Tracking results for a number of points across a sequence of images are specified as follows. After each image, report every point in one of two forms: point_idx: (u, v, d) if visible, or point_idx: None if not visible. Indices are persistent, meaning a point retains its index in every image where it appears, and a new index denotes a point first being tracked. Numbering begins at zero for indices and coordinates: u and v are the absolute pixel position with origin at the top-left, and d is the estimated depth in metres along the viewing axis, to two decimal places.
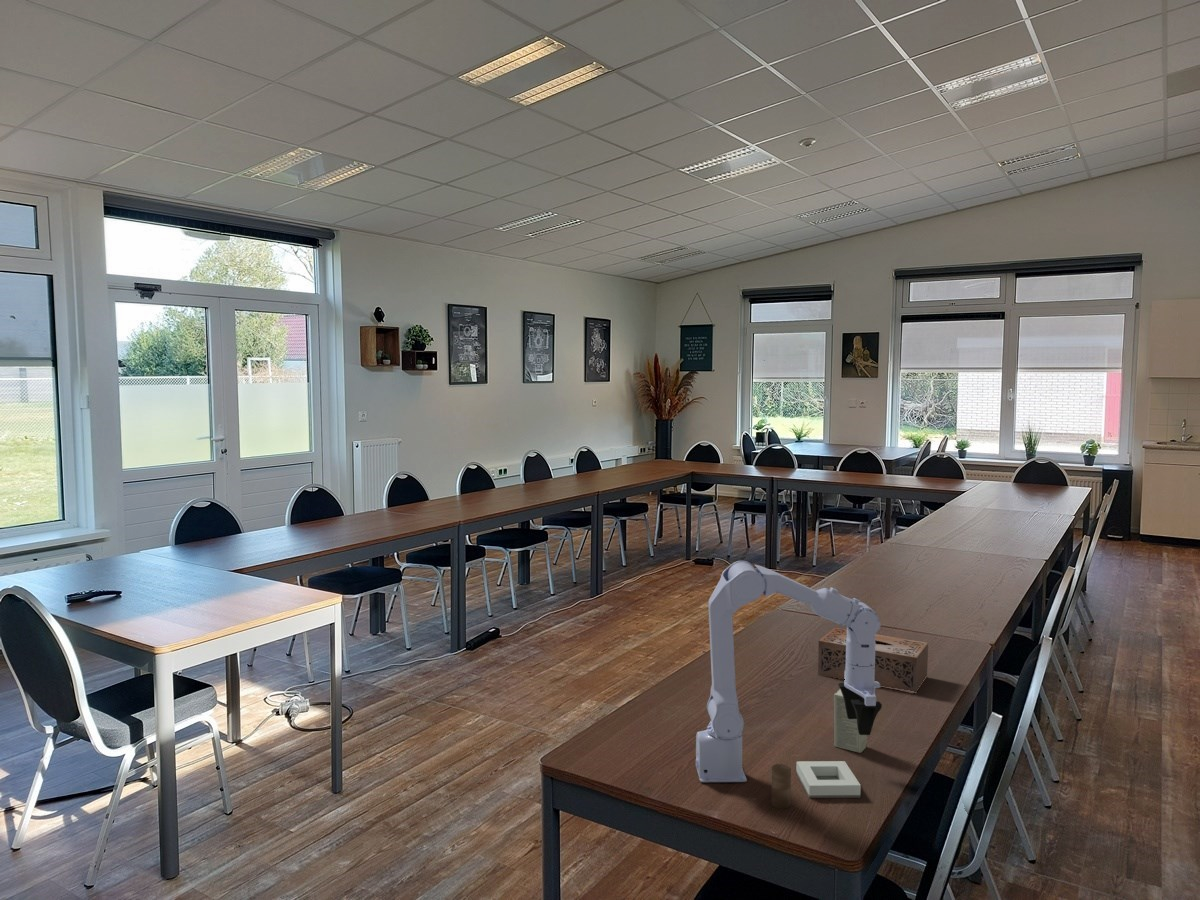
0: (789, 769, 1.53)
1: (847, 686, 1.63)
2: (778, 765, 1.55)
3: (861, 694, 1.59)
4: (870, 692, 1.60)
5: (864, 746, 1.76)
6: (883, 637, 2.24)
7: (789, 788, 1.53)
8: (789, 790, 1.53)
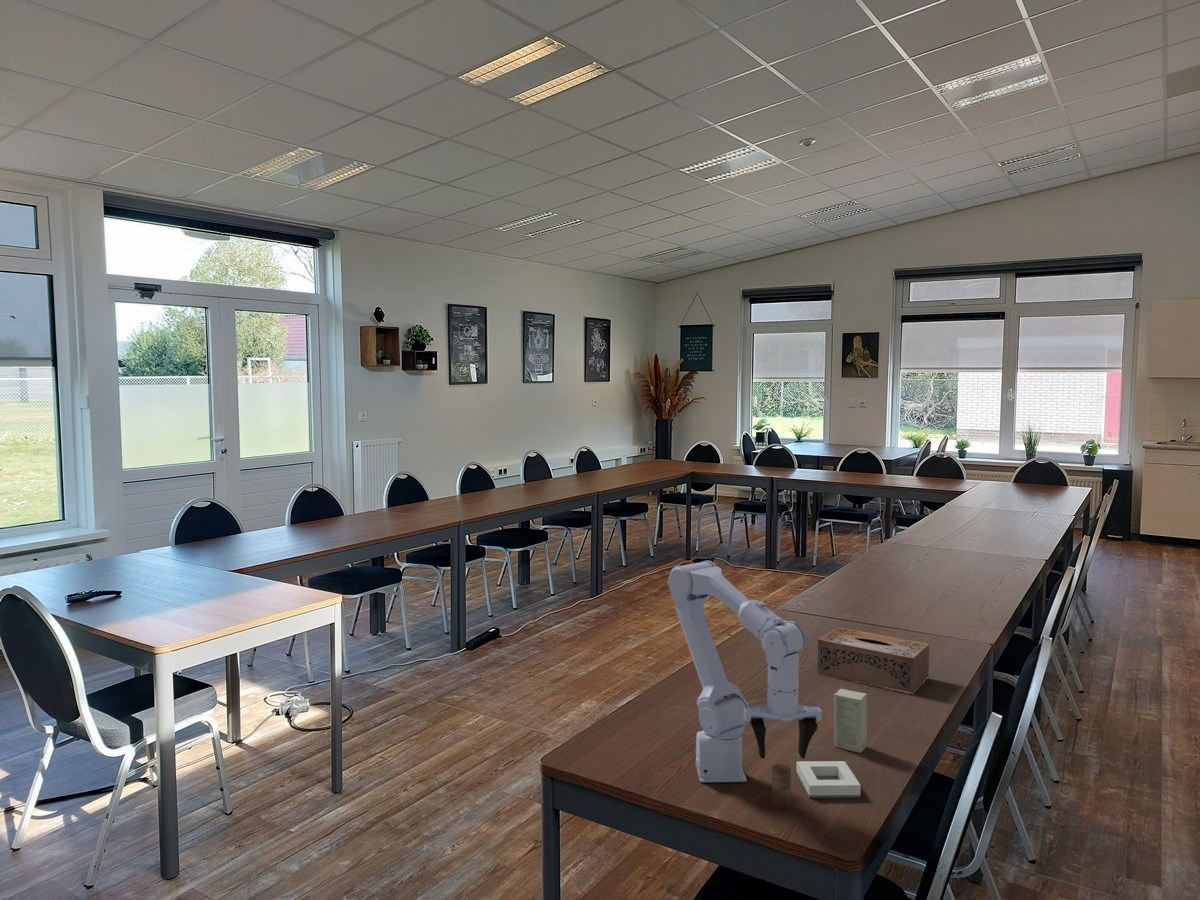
0: (789, 769, 1.53)
1: None
2: (778, 765, 1.55)
3: None
4: (758, 711, 1.52)
5: (864, 746, 1.76)
6: (884, 637, 2.24)
7: (789, 788, 1.53)
8: (789, 790, 1.53)
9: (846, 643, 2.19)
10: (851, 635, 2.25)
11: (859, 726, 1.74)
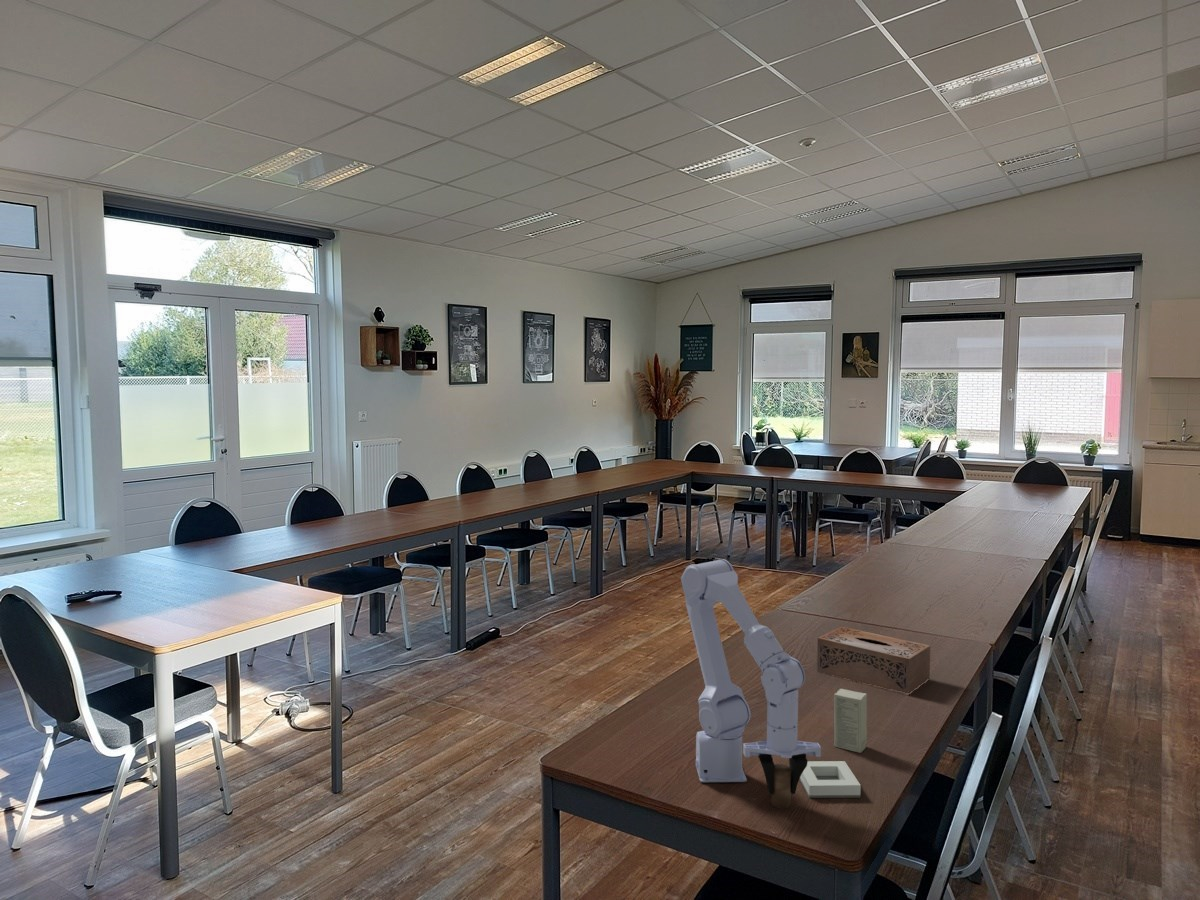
0: (789, 769, 1.53)
1: None
2: (778, 765, 1.55)
3: None
4: (758, 747, 1.52)
5: (864, 746, 1.76)
6: (886, 638, 2.23)
7: (789, 788, 1.53)
8: (789, 790, 1.53)
9: (845, 643, 2.19)
10: (852, 635, 2.26)
11: (859, 726, 1.74)
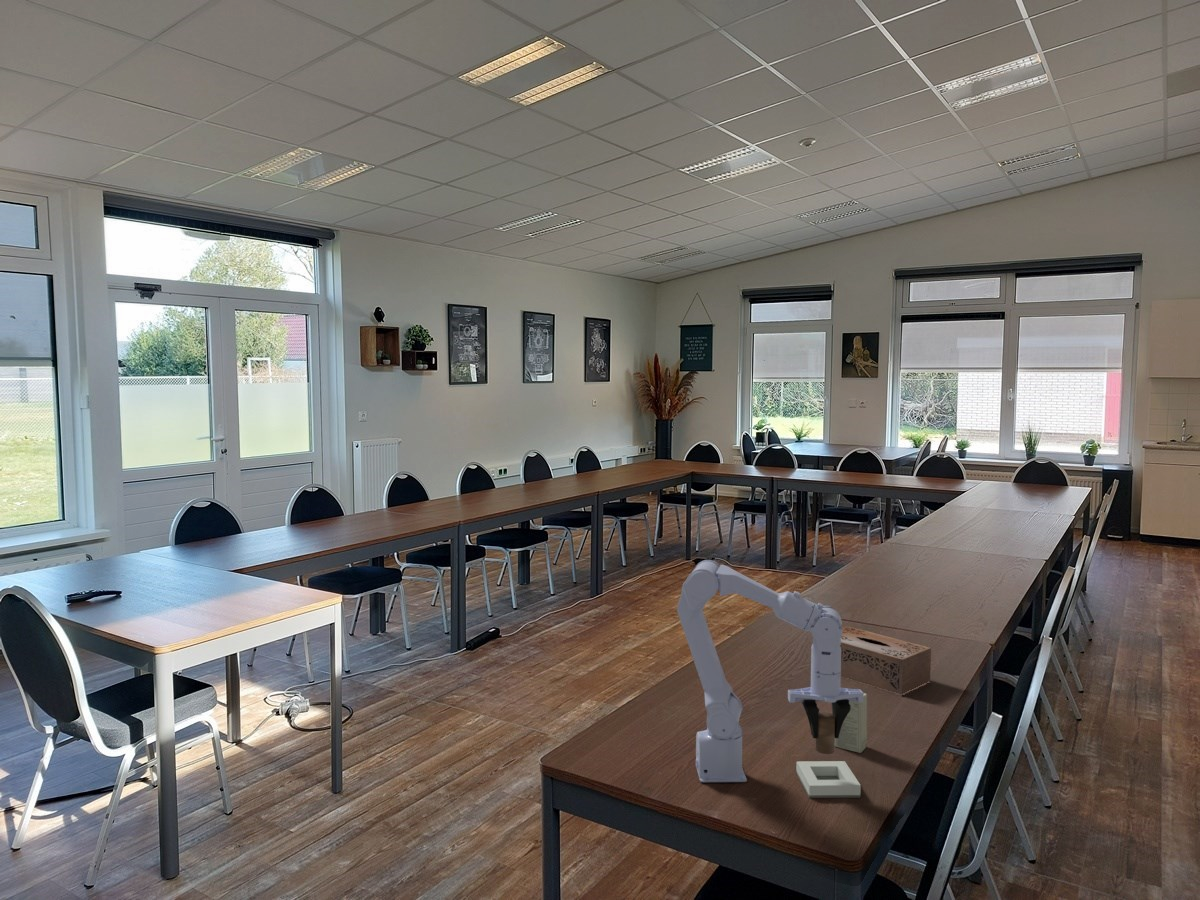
0: (833, 716, 1.58)
1: None
2: (822, 713, 1.60)
3: None
4: (802, 693, 1.58)
5: (864, 746, 1.76)
6: (888, 639, 2.23)
7: (833, 735, 1.58)
8: (833, 736, 1.58)
9: (844, 641, 2.20)
10: (854, 635, 2.26)
11: (859, 726, 1.74)
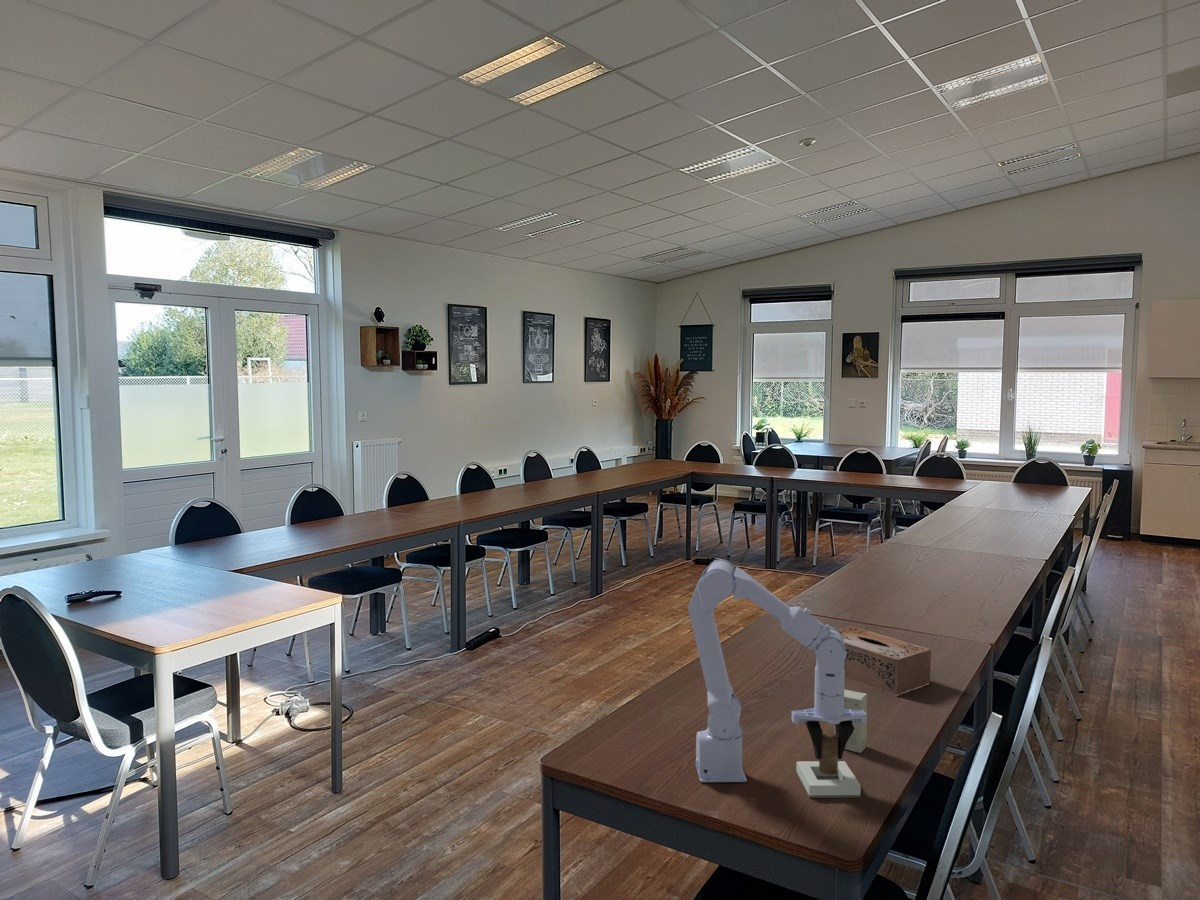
0: (836, 737, 1.59)
1: None
2: (826, 733, 1.61)
3: None
4: (806, 714, 1.59)
5: (864, 746, 1.76)
6: (889, 639, 2.22)
7: (836, 755, 1.59)
8: (836, 757, 1.59)
9: None
10: (856, 634, 2.27)
11: (859, 726, 1.74)
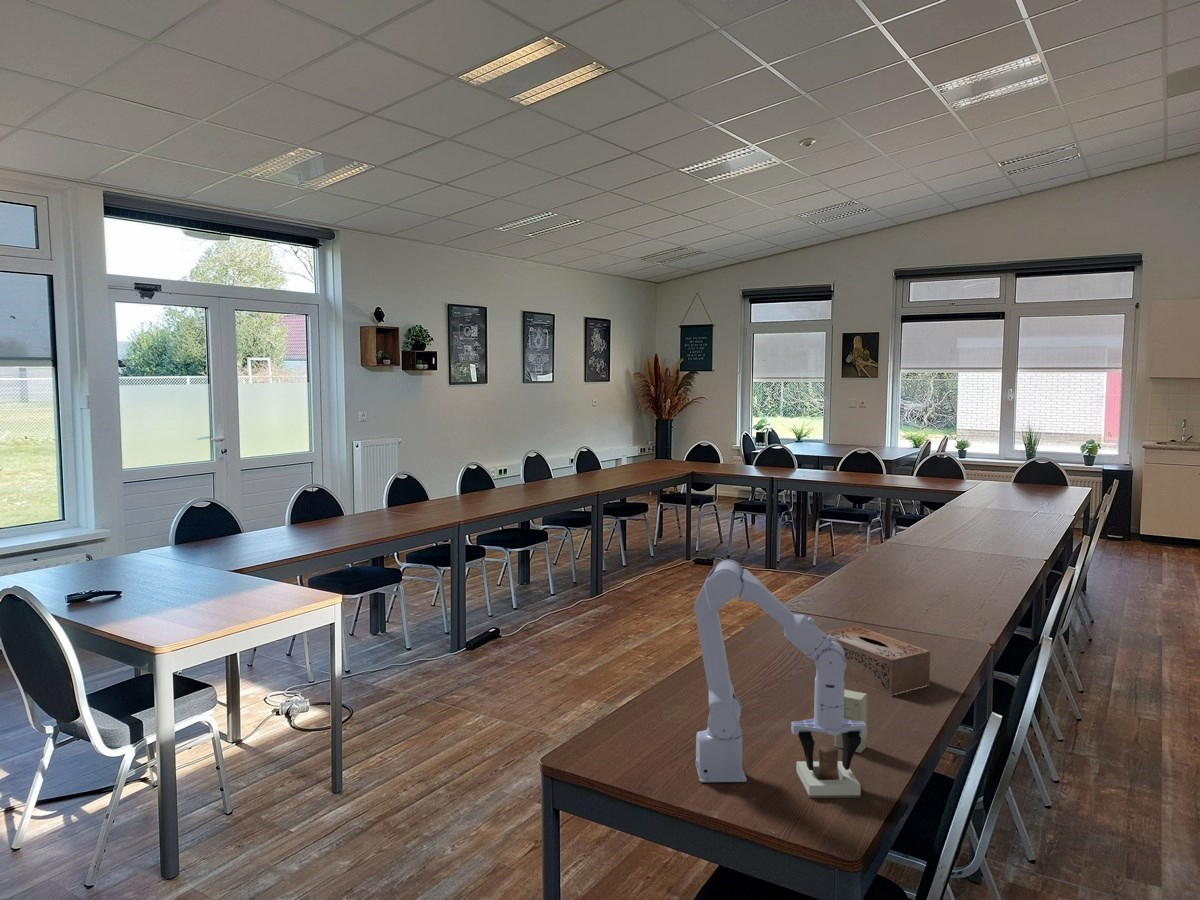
0: (836, 750, 1.60)
1: None
2: (825, 746, 1.61)
3: None
4: (806, 725, 1.59)
5: (864, 746, 1.76)
6: (891, 640, 2.22)
7: (835, 769, 1.59)
8: (835, 770, 1.59)
9: (842, 640, 2.22)
10: (858, 634, 2.27)
11: None
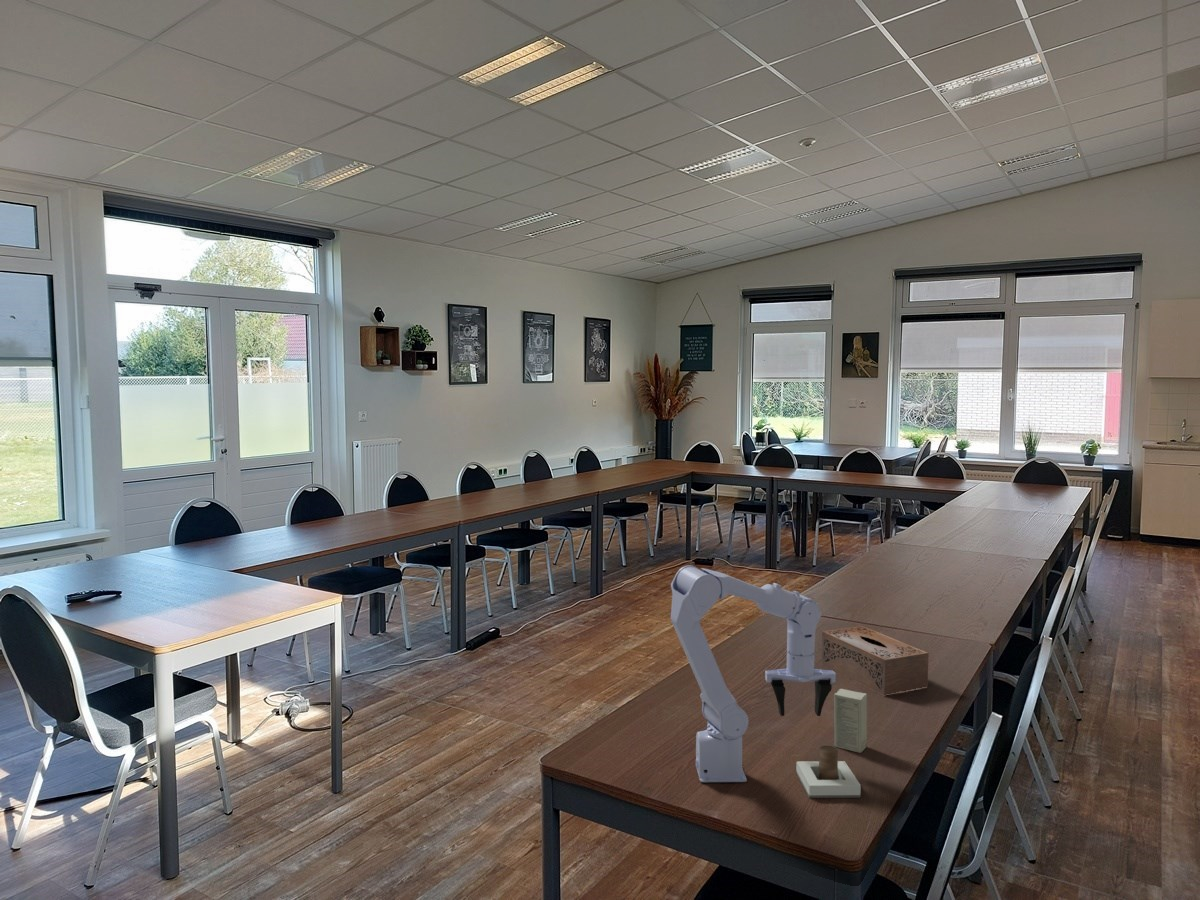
0: (836, 750, 1.60)
1: None
2: (825, 746, 1.61)
3: None
4: (778, 674, 1.69)
5: (864, 746, 1.76)
6: (892, 640, 2.21)
7: (836, 769, 1.59)
8: (836, 770, 1.59)
9: (842, 639, 2.23)
10: (861, 634, 2.27)
11: (859, 726, 1.74)
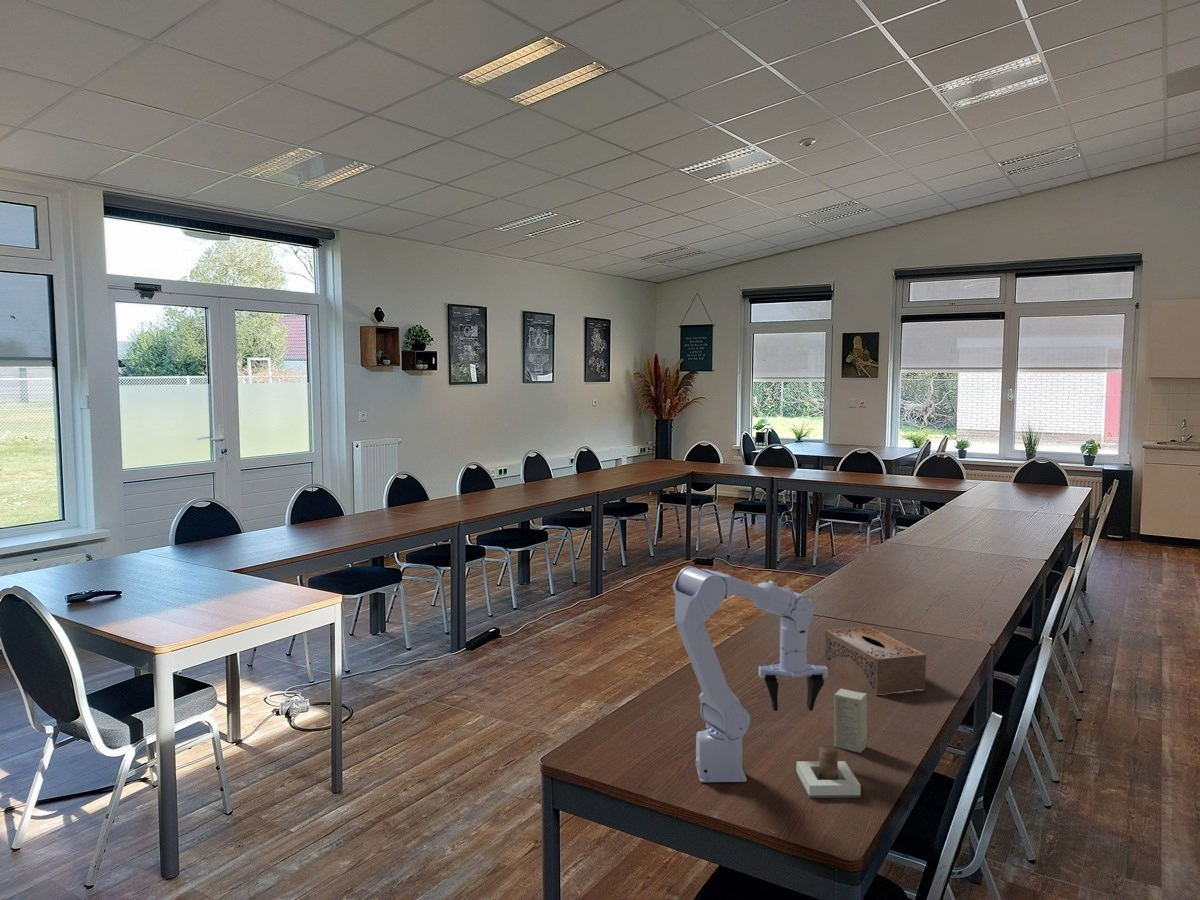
0: (836, 750, 1.60)
1: None
2: (825, 746, 1.61)
3: None
4: (772, 669, 1.72)
5: (864, 746, 1.76)
6: (893, 641, 2.20)
7: (836, 769, 1.59)
8: (836, 770, 1.59)
9: (842, 638, 2.24)
10: (863, 634, 2.27)
11: (859, 726, 1.74)
